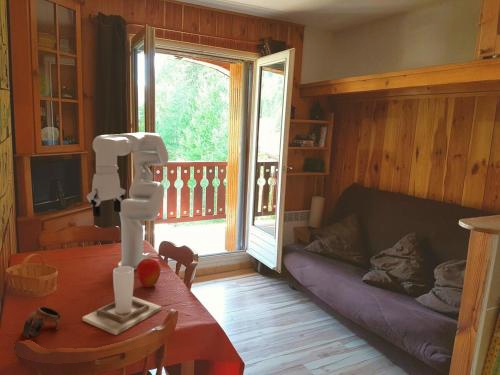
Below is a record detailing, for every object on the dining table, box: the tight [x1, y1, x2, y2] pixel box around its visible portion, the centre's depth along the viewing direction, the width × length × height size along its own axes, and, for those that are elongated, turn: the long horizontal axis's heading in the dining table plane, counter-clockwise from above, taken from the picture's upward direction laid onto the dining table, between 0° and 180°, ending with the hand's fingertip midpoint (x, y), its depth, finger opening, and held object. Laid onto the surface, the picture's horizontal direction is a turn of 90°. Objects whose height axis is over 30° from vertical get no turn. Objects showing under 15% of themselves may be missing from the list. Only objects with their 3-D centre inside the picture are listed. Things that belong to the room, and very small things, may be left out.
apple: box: [136, 257, 162, 288], centre depth 149 cm, size 9×9×12 cm
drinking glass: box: [112, 266, 135, 314], centre depth 126 cm, size 7×7×15 cm
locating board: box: [82, 296, 162, 336], centre depth 126 cm, size 20×16×3 cm
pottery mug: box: [22, 306, 61, 339], centre depth 113 cm, size 12×10×8 cm
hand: (107, 213), depth 143 cm, fingers open, 9 cm apart
